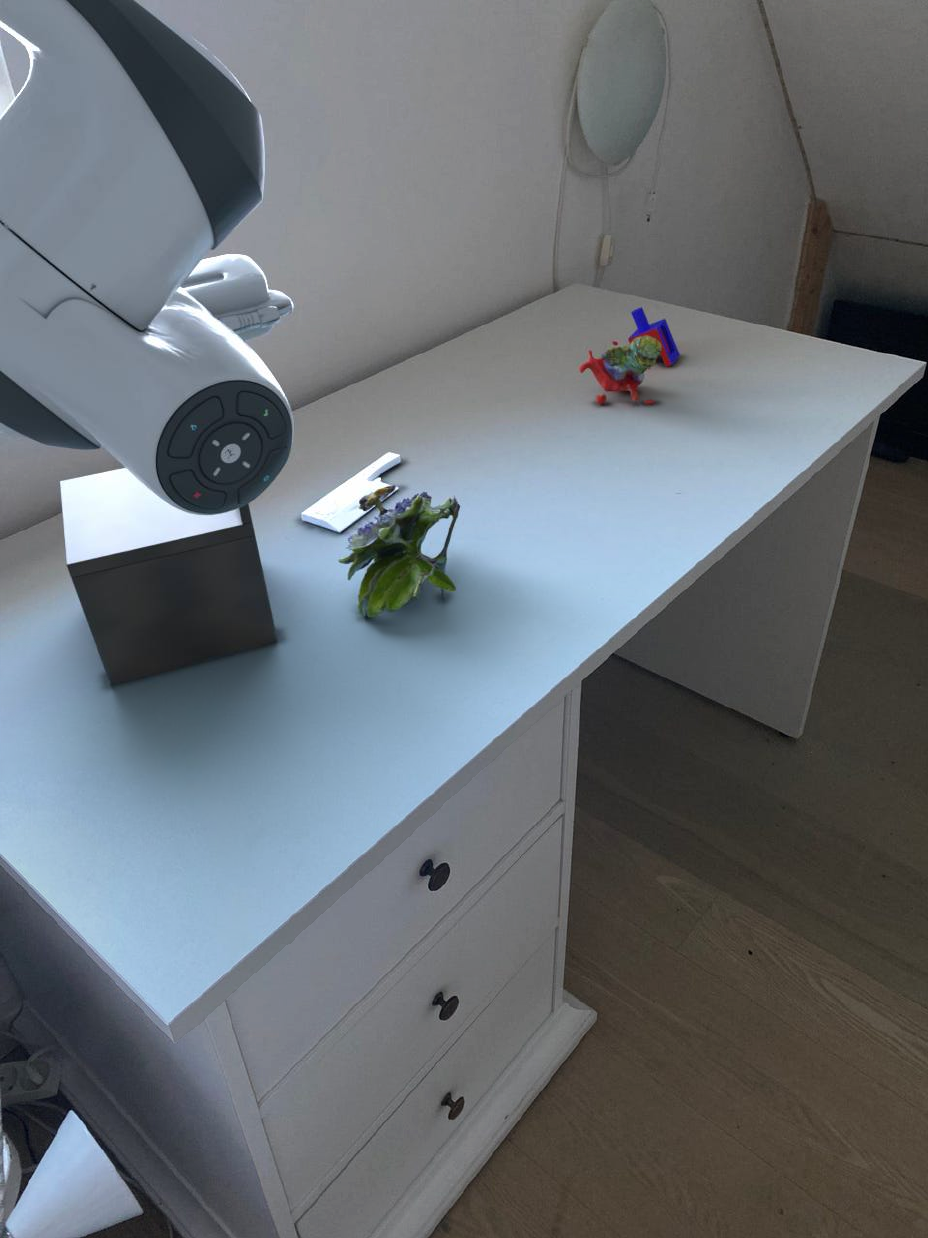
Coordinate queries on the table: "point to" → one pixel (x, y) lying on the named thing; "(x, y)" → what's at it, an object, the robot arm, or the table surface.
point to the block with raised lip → (161, 577)
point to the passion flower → (398, 551)
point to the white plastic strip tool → (349, 497)
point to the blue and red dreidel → (655, 335)
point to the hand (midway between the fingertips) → (84, 289)
